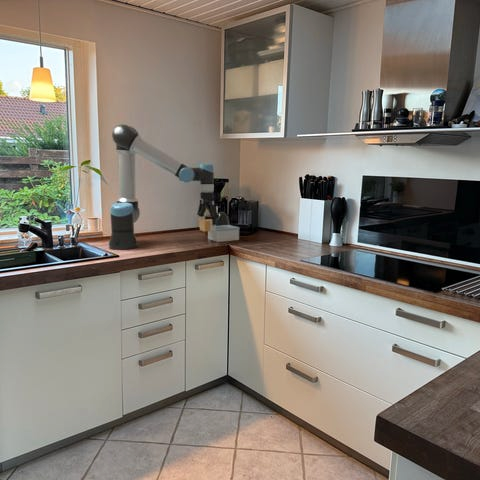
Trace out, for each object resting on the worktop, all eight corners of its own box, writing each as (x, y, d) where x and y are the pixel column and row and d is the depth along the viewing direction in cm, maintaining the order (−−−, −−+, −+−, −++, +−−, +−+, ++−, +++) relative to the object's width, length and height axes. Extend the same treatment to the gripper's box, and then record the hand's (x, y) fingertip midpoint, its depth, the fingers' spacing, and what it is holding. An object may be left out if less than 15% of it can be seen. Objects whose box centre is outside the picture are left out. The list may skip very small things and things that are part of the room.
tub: (218, 243, 248) (218, 231, 247) (208, 240, 258) (207, 228, 257) (238, 241, 256) (239, 229, 254) (228, 238, 266) (228, 227, 264)
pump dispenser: (210, 236, 275) (209, 211, 272) (222, 234, 282) (222, 210, 279) (220, 238, 267) (220, 213, 265) (233, 236, 274) (233, 212, 272)
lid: (207, 234, 243) (207, 221, 242) (197, 231, 254) (197, 219, 253) (239, 231, 255) (239, 219, 253) (228, 228, 265) (228, 217, 264)
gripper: (224, 192, 238) (224, 231, 242) (202, 190, 259) (203, 226, 262) (211, 193, 234) (212, 232, 238) (191, 190, 255) (191, 227, 258)
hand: (207, 229), depth 250 cm, fingers open, 13 cm apart
